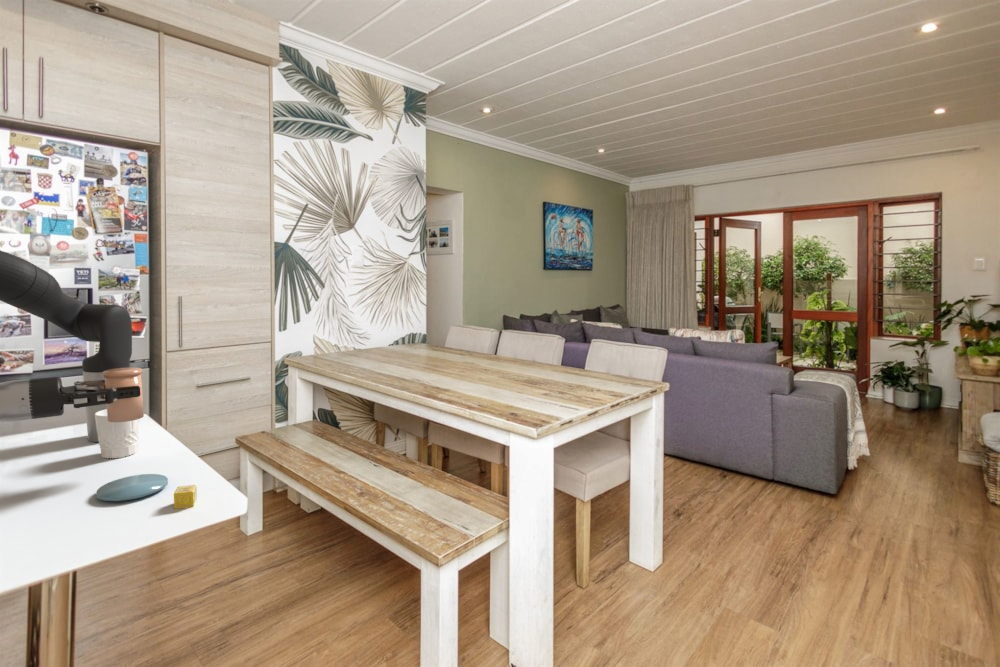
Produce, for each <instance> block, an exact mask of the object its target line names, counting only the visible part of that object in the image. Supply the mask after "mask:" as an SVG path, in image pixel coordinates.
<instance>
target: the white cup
mask: <svg viewBox="0 0 1000 667" xmlns="http://www.w3.org/2000/svg"><path fill="white" fill-rule="evenodd" d="M95 420H96V427H97V434H98V440H99V442H98V445H99V448H100V455H101V458H103V459H106V458H107V459H108V458H110V459H109V460H112V459H113V458H114V459H120V458H121V459H122V458H126V457H130V456H132V454H133V455H135V454H136V453H137V451H139V419H137V420H133V421H127V422H109V421H108V416H107V409H105V410H101V411H98V412H96V413H95ZM129 455H130V456H129ZM125 456H126V457H125ZM111 458H112V459H111Z"/></svg>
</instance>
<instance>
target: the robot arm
mask: <svg viewBox="0 0 1000 667" xmlns="http://www.w3.org/2000/svg"><path fill="white" fill-rule="evenodd" d="M0 301H1V302H3V303H6V305H7V304H8V305H9V306H12V307H14V308H17V309H19V310H22V311H24V312H26V313H28V314H31V315H33V316H36V317H38V318H40V319H43V320H46V321H48V322H49V323H52V324H53V325H55V326H57V327H59V328H60V329H62V330H63V331H65V332H66V333H67V334H70V335H72V336H74V338H77V339H80V340H81V341H85V342H91V343H92V342H93V343H96V342H97V343H99V347H98V351H97V353H95V354H94V355H91V356H88V357H86V358H83V360H82V362H81V364H82V380H83V381H79V380H78V381H75V382H74V383H73V385H70V386H63V382H62V379H61V377H60V376H51V377H40V378H28V379H17V380H9V381H4V382H3V381H1V382H0V423H2V422H19V421H28V420H36V419H43V418H45V419H46V418H51V417H53V418H54V417H60V416H62V415H64V412H65V406H64V405H73V408H74V409H80V408H85V415H86V428H87V439H88V441H90V442H94V443H95V442H97V443H99V440H98V434H97V427H96V420H95V413H96V412H98V411H101V410H105V409H107V404H111V403H113V401H116V400H117V398H118V399H124V398H132V397H139V396H140V387H139V386H128V387H118V388H117V390H116V388H114V387H112V388H105V377H104V376H103V371H105V370H109V369H116V368H127V367H130V361H131V357H132V355H133V354H132V353H133V330H132V329H133V324H132V318H131V315H130V313H129V311H128V309H126V307H124V306H123V305H119V304H99V303H97V304H96V303H95V304H94V303H87V302H83V301H80V300H78V299H75V298H73V297H72V296H69V295H68V294H66V293H64V292H63V290H62V286H61V285H60V283H59V282H58V280H57V279H56V277H54V276H53V275H52V274H51V273H49V272H48V271H46V270H44V269H43V268H41V267H39V266H38V265H35V264H33V263H32V262H30V261H28V260H26V259H24V258H22V257H20V256H17V255H15V254H12V253H9V252H6V251H3V250H0Z"/></svg>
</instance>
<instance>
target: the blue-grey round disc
mask: <svg viewBox="0 0 1000 667" xmlns="http://www.w3.org/2000/svg"><path fill="white" fill-rule="evenodd" d="M168 479H169V478H168V477H167V476H166V475H164V474H159V473H145V474H142V473H141V474H135V475H129V476H125V477H121V478H117V479H114V480H112V481H109V482H107V483H105V484H103V485H102V486H100V487H99V488H98V489H97V490H96V492H95V493H96V497H97V499H98V500H101V501H105V502H106V501H107V502H121V501H129V500H130V501H131V500H135V499H139V498H143V497H147V496H150V495H153V494H155V493H158V492H159V491H161V490H163V489H165V487H166V486H168V483H169V480H168Z"/></svg>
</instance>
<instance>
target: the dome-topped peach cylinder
mask: <svg viewBox="0 0 1000 667" xmlns="http://www.w3.org/2000/svg"><path fill="white" fill-rule="evenodd" d="M142 374H143V368H141V367H136V366H135V367H132V366H131V367H127V368H116V369H109V370H105V371H103V376H104V377H105V388H112V387H114V388H116V390H117V388H118V387H128V386H139V387H140V396H139V397H132V398H124V399H118V398H117V400H116V401H113V403H111V404H107V416H108V421H109V422H127V421H133V420H137V419H138V420H140V419H143V418H144V417H145V413H144V400H143V399H144V398H143V397H144V395H143V381H142Z"/></svg>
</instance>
